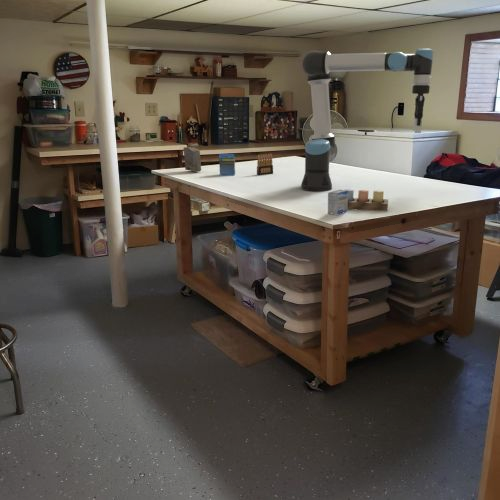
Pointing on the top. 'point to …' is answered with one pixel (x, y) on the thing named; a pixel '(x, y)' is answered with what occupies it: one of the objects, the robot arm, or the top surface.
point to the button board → (368, 205)
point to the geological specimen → (192, 159)
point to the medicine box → (337, 201)
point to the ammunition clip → (264, 165)
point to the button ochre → (378, 196)
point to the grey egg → (350, 194)
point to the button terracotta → (363, 196)
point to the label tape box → (227, 164)
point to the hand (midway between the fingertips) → (416, 131)
